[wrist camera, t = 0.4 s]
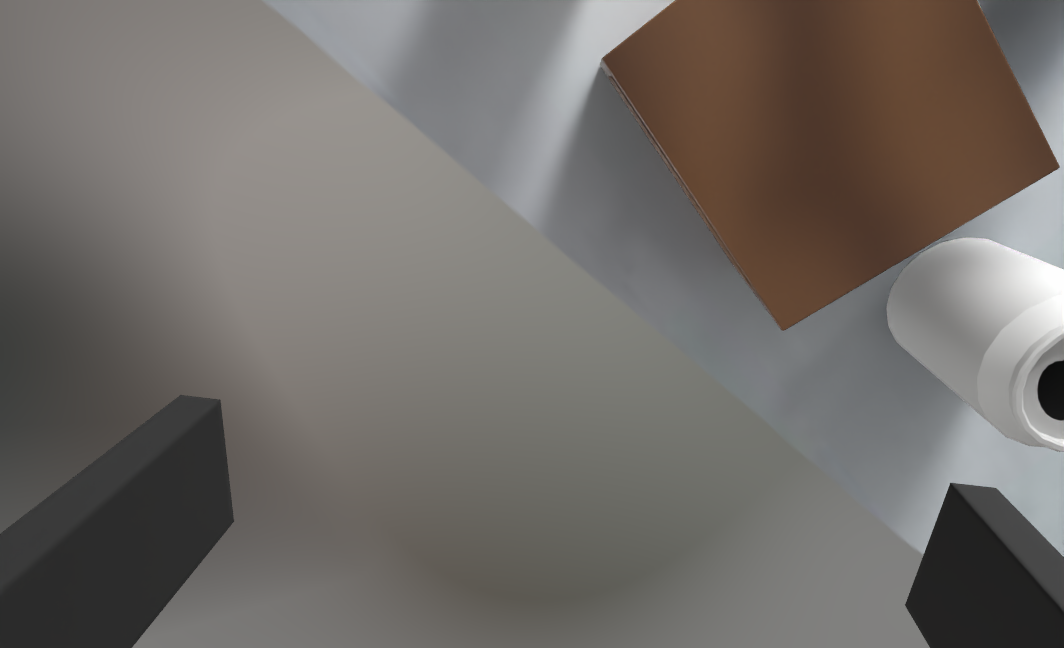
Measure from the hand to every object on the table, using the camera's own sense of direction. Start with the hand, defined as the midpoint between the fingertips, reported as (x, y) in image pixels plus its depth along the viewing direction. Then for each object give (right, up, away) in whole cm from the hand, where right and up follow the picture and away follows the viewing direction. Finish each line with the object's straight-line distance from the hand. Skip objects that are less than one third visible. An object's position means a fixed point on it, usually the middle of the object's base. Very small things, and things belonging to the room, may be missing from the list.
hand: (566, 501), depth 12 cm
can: (+23, +5, +26) cm, 35 cm away
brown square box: (+12, +15, +23) cm, 30 cm away
